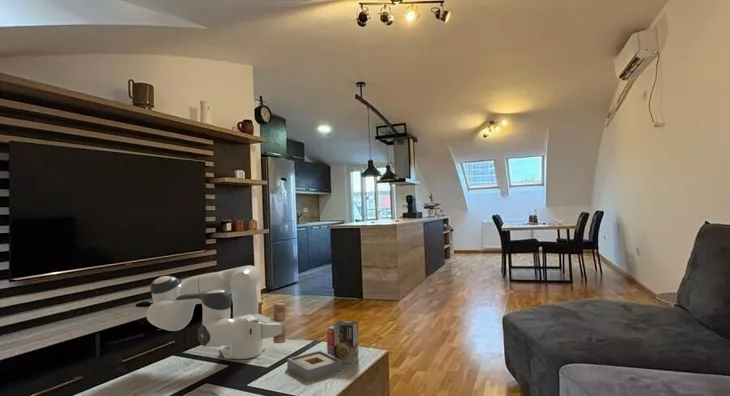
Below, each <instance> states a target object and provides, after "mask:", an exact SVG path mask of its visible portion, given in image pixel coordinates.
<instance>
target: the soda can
mask: <svg viewBox="0 0 730 396" xmlns="http://www.w3.org/2000/svg"><path fill="white" fill-rule="evenodd" d="M326 351H327V352H326V353H327V354H330V355H332V356H334V324H333V325H332V324H331V325H329V326H328V329H327V331H326Z"/></svg>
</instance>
